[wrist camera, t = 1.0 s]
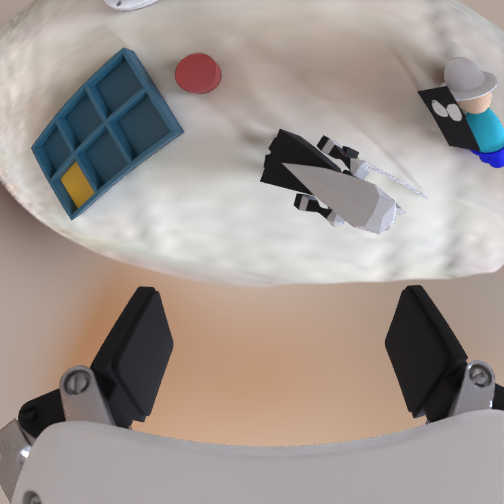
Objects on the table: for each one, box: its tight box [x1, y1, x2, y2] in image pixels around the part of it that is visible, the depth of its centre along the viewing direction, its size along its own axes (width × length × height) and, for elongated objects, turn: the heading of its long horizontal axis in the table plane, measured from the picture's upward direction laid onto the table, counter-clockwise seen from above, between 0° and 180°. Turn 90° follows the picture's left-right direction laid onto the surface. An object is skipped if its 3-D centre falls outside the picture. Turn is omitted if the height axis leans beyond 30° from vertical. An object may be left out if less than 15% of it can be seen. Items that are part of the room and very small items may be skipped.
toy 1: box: [260, 129, 428, 234], centre depth 28 cm, size 8×20×15 cm
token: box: [175, 53, 221, 94], centre depth 25 cm, size 5×5×3 cm
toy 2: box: [418, 57, 504, 168], centre depth 21 cm, size 9×11×15 cm
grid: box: [31, 48, 184, 220], centre depth 28 cm, size 14×20×3 cm
